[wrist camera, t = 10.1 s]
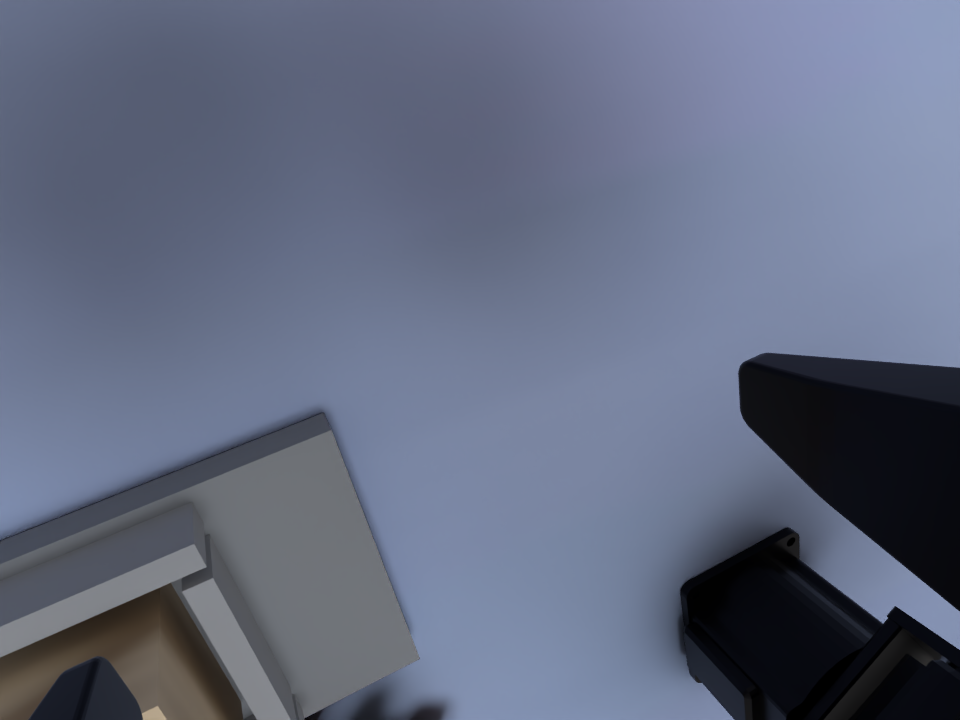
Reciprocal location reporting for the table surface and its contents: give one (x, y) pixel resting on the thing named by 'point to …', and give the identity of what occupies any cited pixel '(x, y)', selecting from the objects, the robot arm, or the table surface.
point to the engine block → (129, 662)
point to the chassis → (230, 571)
